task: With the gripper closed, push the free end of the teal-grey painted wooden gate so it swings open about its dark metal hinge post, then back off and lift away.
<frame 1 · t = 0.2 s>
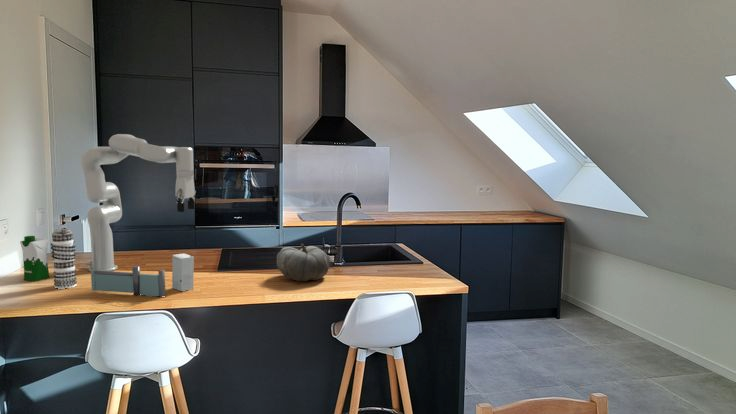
hand: (186, 210, 239), 31 cm above the table, fingers open, 9 cm apart
gate: (112, 281, 212), point 5 cm above the table, hinge at 0.0°
gourd: (304, 278, 241), on the table
hinge post: (137, 295, 211), on the table
black and white bottle: (65, 286, 222), on the table
skincare box: (183, 289, 221), on the table
milk carton: (37, 279, 232), on the table
fence panel: (150, 295, 210), on the table
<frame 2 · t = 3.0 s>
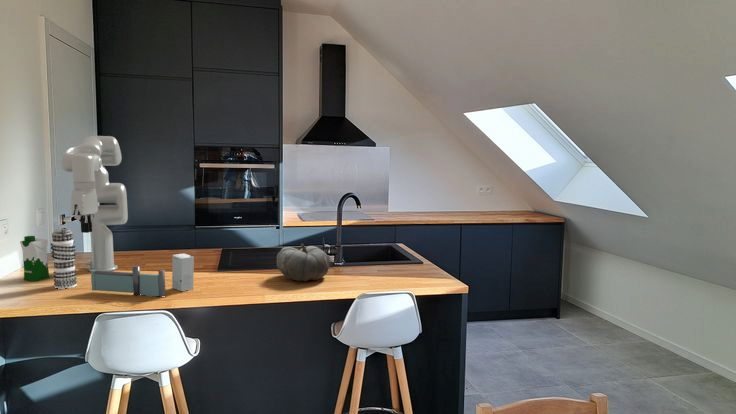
hand: (86, 231, 203), 27 cm above the table, fingers closed
nothing on the table moved.
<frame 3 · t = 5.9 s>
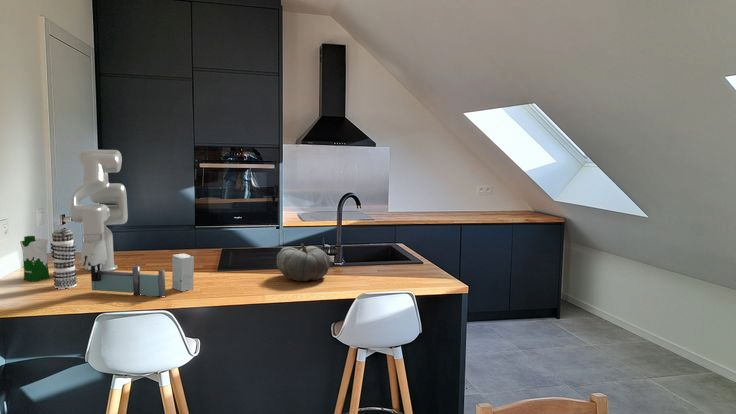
hand: (96, 280, 210), 6 cm above the table, fingers closed
gate: (112, 281, 212), point 5 cm above the table, hinge at 0.0°, touching gripper
everything else where it was.
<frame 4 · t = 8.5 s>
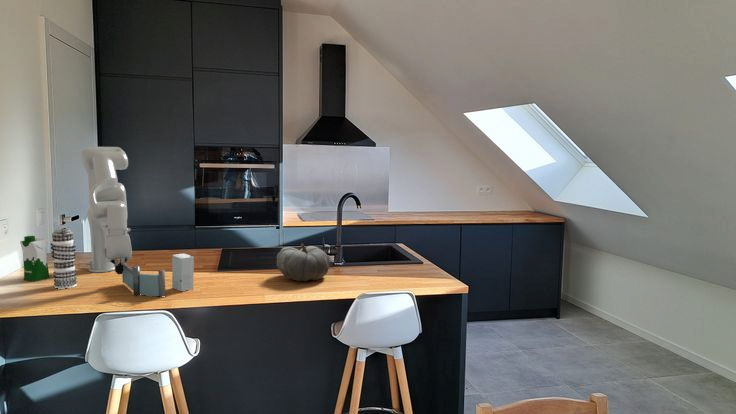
hand: (119, 273, 220), 6 cm above the table, fingers closed
gate: (129, 277, 219), point 5 cm above the table, hinge at 42.5°, touching gripper
everything else where it was.
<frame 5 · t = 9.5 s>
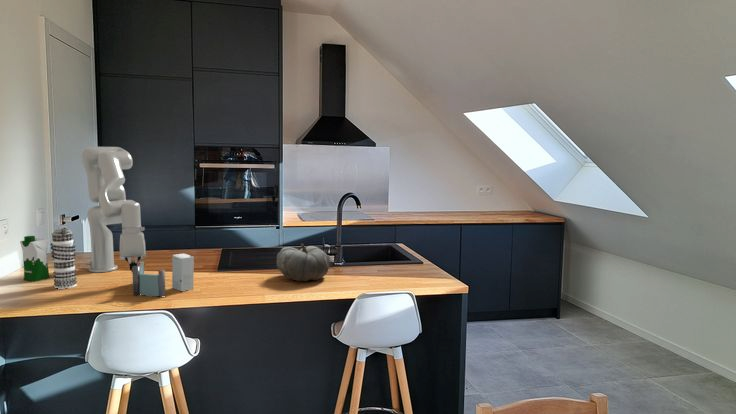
hand: (133, 271, 224), 6 cm above the table, fingers closed
gate: (139, 276, 221), point 5 cm above the table, hinge at 63.4°, touching gripper
everything else where it was.
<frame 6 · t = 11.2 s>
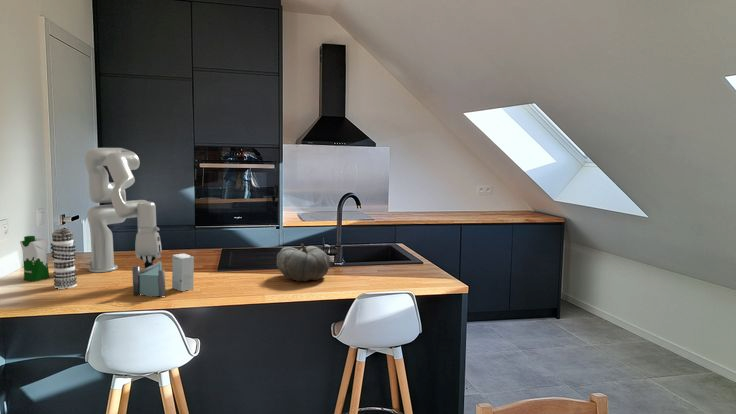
hand: (149, 270, 226), 6 cm above the table, fingers closed
gate: (149, 275, 221), point 5 cm above the table, hinge at 85.9°, touching gripper
everything else where it was.
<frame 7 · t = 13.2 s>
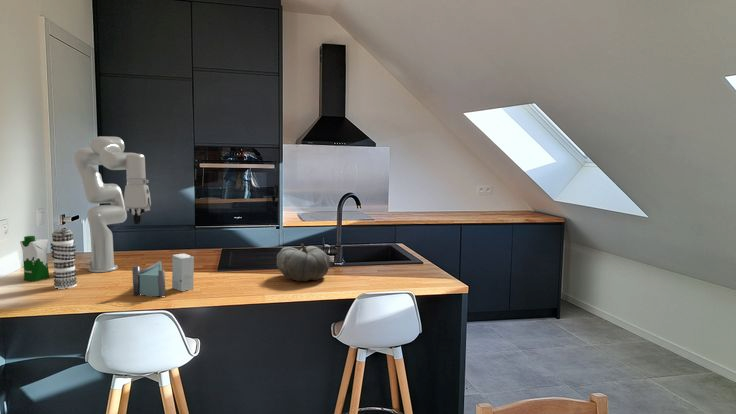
hand: (137, 223, 224), 27 cm above the table, fingers closed
gate: (149, 275, 221), point 5 cm above the table, hinge at 85.9°
everything else where it was.
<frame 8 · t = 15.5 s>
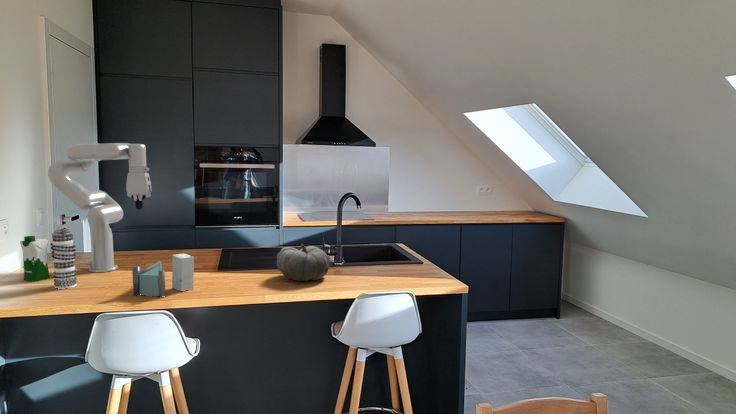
hand: (139, 209, 241), 31 cm above the table, fingers closed
nothing on the table moved.
at the end: gate at +86° (first picture: +0°) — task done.
